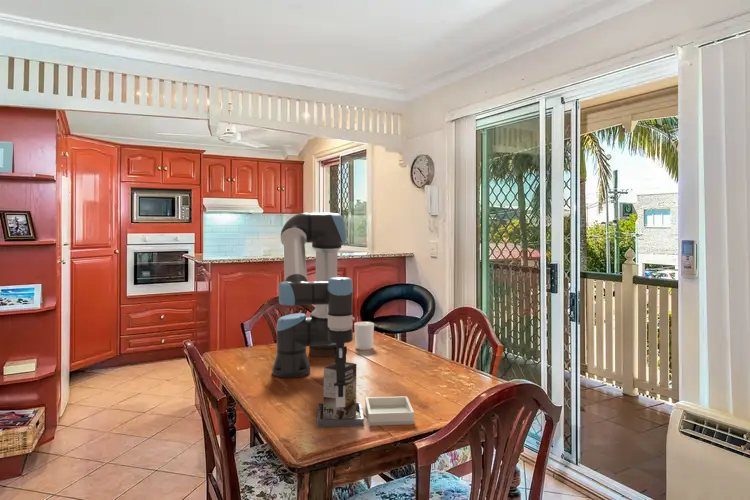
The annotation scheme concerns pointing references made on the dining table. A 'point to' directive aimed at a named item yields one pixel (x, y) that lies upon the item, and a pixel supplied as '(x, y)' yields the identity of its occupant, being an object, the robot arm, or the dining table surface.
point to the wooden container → (322, 350)
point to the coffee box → (330, 393)
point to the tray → (389, 410)
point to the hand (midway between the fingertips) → (340, 399)
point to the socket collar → (340, 421)
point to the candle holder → (364, 335)
